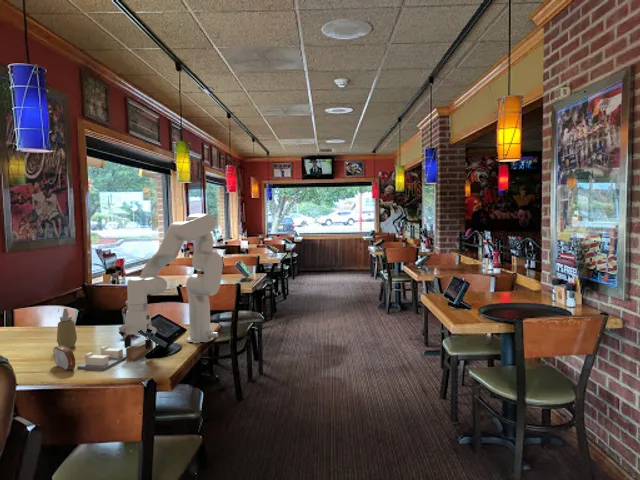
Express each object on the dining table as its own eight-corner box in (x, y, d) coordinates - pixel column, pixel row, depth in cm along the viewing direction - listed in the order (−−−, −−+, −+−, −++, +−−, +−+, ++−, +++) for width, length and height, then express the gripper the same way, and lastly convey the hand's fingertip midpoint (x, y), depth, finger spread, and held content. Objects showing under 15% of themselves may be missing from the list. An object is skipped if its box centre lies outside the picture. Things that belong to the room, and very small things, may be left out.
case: (153, 352, 191) (152, 340, 190) (133, 362, 178) (133, 349, 178) (146, 352, 191) (145, 339, 191) (126, 361, 179) (125, 348, 179)
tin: (76, 370, 169) (75, 349, 168) (67, 373, 167) (66, 351, 166) (61, 363, 178) (60, 342, 178) (52, 365, 176) (51, 344, 176)
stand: (130, 356, 185) (129, 345, 184) (104, 370, 169) (103, 357, 169) (105, 355, 187) (104, 344, 187) (77, 368, 171) (76, 356, 171)
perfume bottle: (133, 338, 212) (132, 302, 211) (118, 339, 212) (116, 302, 211) (140, 334, 220) (138, 299, 219) (125, 334, 220) (124, 299, 219)
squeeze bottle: (68, 350, 195) (66, 310, 194) (52, 349, 197) (50, 310, 196) (81, 345, 203) (79, 307, 202) (66, 344, 205) (64, 306, 204)
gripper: (161, 306, 185) (161, 346, 186) (124, 305, 189) (125, 344, 189) (150, 310, 178) (151, 351, 178) (113, 308, 181) (113, 349, 182)
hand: (138, 347), depth 184 cm, fingers open, 9 cm apart
